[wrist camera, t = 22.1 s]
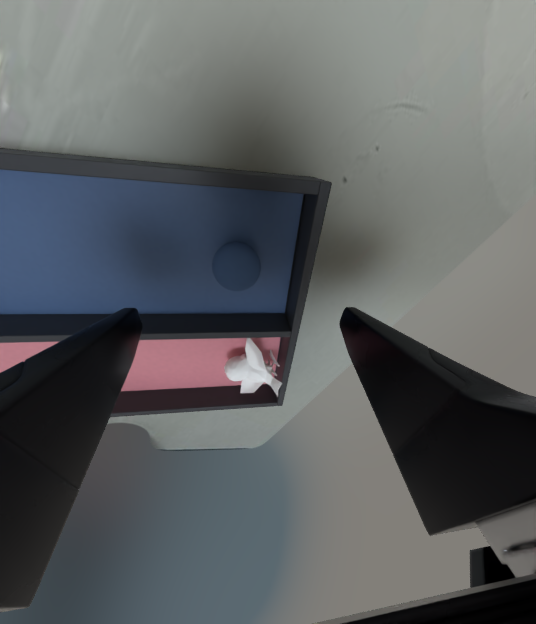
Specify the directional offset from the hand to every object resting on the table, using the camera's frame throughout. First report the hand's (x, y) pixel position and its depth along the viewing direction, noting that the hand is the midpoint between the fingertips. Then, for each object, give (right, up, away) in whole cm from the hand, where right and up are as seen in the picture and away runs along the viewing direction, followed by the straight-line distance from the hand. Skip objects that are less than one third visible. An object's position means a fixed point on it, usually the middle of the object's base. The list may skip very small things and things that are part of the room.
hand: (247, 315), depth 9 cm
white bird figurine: (-1, -4, +11) cm, 12 cm away
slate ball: (-1, +3, +4) cm, 5 cm away
